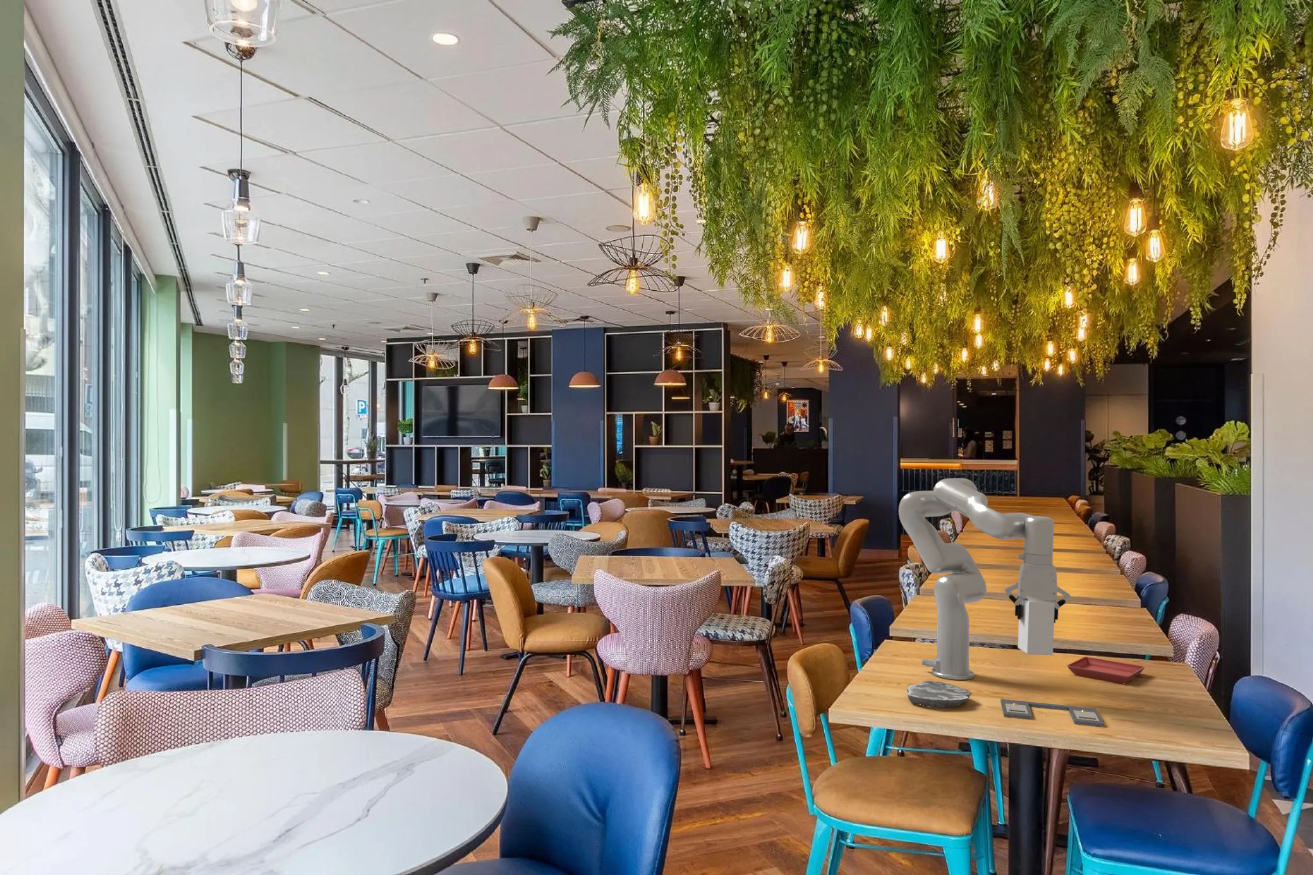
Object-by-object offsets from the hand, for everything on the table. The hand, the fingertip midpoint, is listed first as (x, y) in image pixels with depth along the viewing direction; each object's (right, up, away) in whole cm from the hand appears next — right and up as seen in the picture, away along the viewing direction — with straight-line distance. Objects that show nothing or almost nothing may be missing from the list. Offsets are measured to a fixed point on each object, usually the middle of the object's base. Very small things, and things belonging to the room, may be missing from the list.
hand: (1036, 620), depth 243 cm
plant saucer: (+34, -24, +27) cm, 49 cm away
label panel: (-3, -22, -15) cm, 27 cm away
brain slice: (-29, -23, -3) cm, 37 cm away
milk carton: (0, -9, 0) cm, 9 cm away
